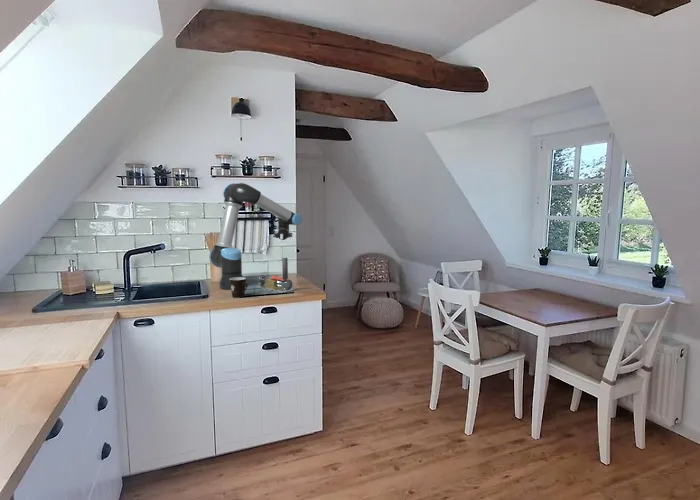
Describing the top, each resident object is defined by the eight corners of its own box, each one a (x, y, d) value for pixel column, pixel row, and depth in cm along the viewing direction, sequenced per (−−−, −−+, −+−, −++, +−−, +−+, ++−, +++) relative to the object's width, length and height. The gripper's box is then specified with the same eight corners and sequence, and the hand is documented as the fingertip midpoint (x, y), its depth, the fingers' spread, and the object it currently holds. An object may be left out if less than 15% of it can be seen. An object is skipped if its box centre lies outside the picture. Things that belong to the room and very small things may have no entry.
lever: (269, 278, 244) (268, 256, 242) (275, 277, 247) (274, 255, 245) (283, 281, 234) (283, 258, 232) (289, 280, 237) (289, 258, 235)
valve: (255, 287, 248) (254, 276, 247) (268, 284, 256) (267, 274, 255) (282, 292, 233) (281, 281, 232) (294, 289, 241) (294, 278, 240)
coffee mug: (229, 295, 226) (228, 278, 225) (244, 294, 230) (244, 276, 228) (232, 300, 215) (231, 281, 214) (249, 298, 219) (248, 280, 218)
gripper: (293, 239, 278) (292, 242, 255) (273, 239, 277) (270, 243, 253) (292, 228, 277) (291, 230, 254) (273, 228, 276) (270, 230, 252)
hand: (281, 236), depth 254 cm, fingers closed
